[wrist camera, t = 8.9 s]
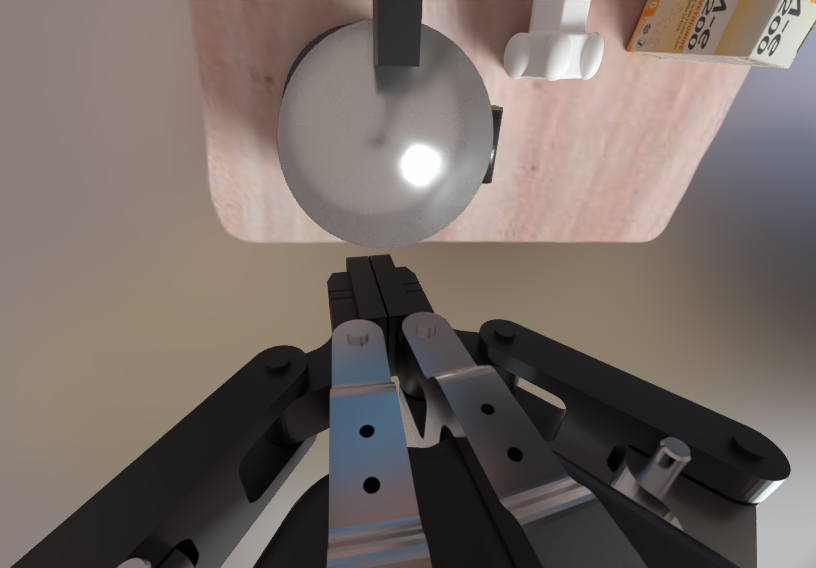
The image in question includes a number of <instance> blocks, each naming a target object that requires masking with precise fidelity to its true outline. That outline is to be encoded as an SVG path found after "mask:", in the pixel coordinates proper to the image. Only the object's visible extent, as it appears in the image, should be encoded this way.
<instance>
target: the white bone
mask: <svg viewBox="0 0 816 568" xmlns="http://www.w3.org/2000/svg"><path fill="white" fill-rule="evenodd" d="M590 1H591V0H533V5H532V12H531V19H530V26H529V32H528V33H517V34H515V35H514V36H513V37H512V38H511V39H510V40H509V42H508V44H507V46H506V49H505V53H504V68H505V72H506V73H507V75H508V76H509V77H511V78H513V79H519V78H521V77H523V78H541V79H546V80H548V81H555V80H558V79H570V78H580V79H582V80H587V79H590V78H591V77H592V76H593V75H594V74H595V73H596V71H597V70H598V68H599V65H600V62H601V59H602V55H603V49H604V43H603V38H602V36H601V35H600V34H599V33H597V32H593V33H585V31H584V30H585V25H586V20H587V16H588V11H589V6H590Z"/></svg>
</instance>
